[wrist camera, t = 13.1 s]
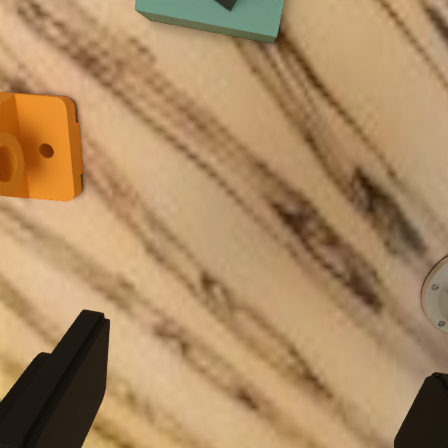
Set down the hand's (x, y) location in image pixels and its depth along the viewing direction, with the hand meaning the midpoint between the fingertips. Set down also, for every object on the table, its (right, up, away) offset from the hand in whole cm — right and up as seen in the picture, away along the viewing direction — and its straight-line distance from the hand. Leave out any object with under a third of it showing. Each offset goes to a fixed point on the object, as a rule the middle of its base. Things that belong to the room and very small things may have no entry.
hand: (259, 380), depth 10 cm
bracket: (-20, +13, +29) cm, 38 cm away
